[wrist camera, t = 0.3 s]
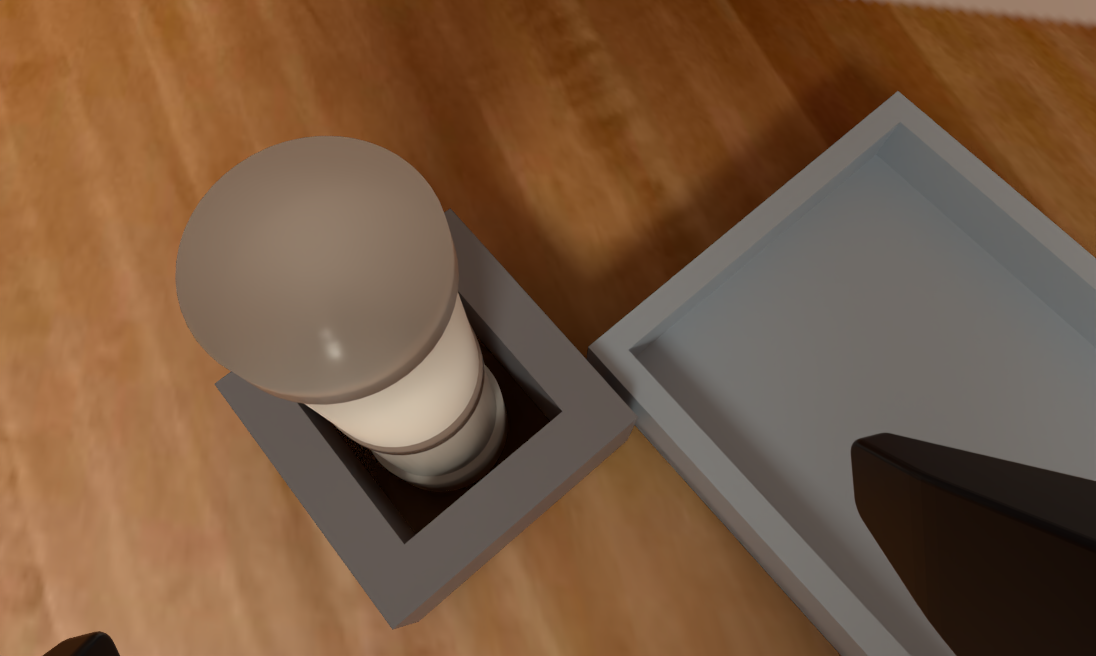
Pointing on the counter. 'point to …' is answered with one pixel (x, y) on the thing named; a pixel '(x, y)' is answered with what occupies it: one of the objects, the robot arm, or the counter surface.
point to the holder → (489, 506)
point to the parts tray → (862, 358)
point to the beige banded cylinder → (345, 304)
